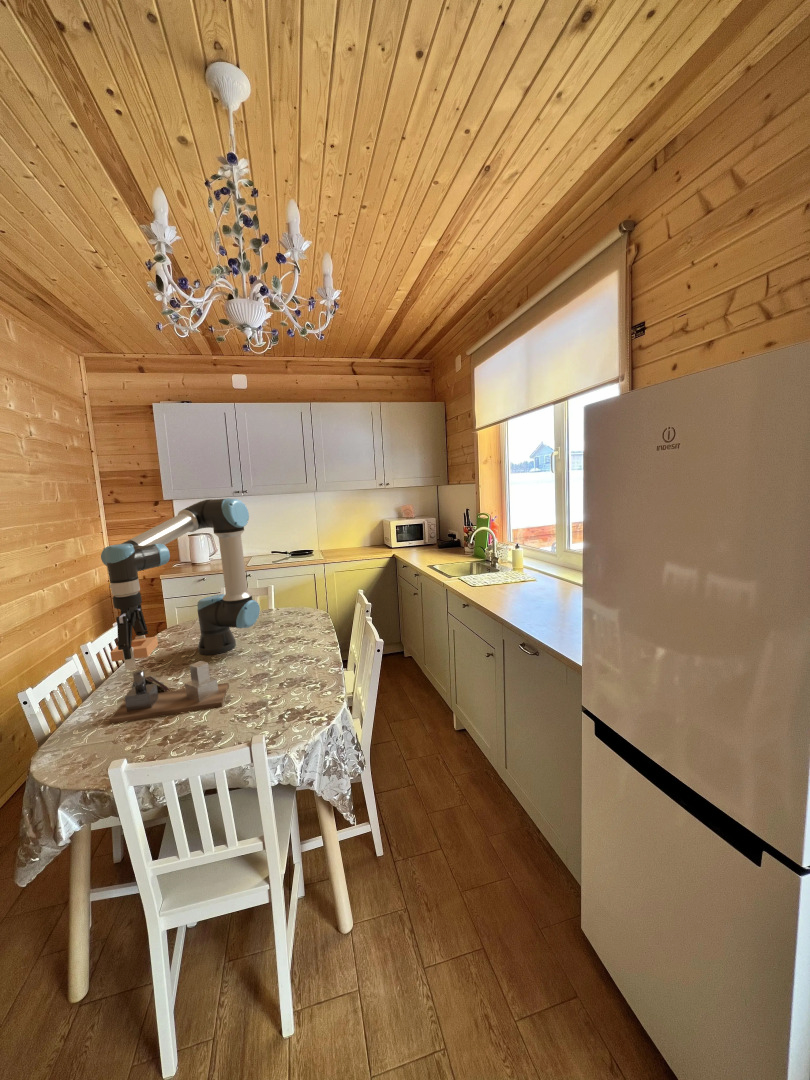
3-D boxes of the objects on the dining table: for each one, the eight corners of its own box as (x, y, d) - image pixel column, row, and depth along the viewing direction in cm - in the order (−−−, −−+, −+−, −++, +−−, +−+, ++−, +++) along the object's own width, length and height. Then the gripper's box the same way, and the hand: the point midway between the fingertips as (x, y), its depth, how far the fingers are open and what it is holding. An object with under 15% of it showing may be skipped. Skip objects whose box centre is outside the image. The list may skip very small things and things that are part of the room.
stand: (135, 700, 145) (130, 669, 143) (158, 697, 146) (153, 666, 145) (127, 711, 138) (121, 678, 136) (151, 707, 140) (146, 675, 138)
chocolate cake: (178, 688, 157) (157, 664, 159) (166, 692, 150) (144, 666, 152) (159, 708, 156) (138, 683, 158) (146, 713, 149) (124, 687, 151)
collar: (124, 649, 144) (123, 640, 143) (158, 645, 146) (156, 636, 145) (111, 661, 134) (110, 652, 133) (147, 656, 136) (146, 647, 136)
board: (128, 701, 148) (127, 697, 147) (229, 686, 154) (228, 682, 154) (110, 724, 134) (109, 719, 134) (221, 706, 141) (221, 702, 141)
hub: (186, 697, 145) (182, 666, 143) (205, 688, 151) (202, 658, 149) (199, 702, 141) (195, 670, 140) (218, 692, 147) (214, 661, 145)
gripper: (127, 586, 147) (137, 649, 150) (96, 605, 125) (109, 678, 128) (151, 583, 149) (161, 646, 152) (125, 602, 127) (137, 674, 130)
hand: (137, 661), depth 140 cm, fingers closed on collar, 10 cm apart
